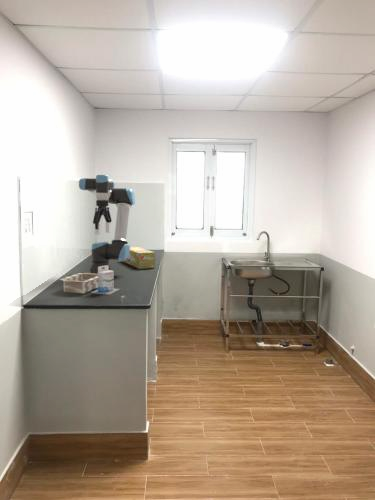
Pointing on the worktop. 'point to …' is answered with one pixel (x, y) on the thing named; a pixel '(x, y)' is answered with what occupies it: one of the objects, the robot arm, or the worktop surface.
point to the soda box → (141, 258)
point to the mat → (105, 292)
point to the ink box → (105, 279)
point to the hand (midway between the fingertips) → (102, 233)
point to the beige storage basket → (80, 282)
